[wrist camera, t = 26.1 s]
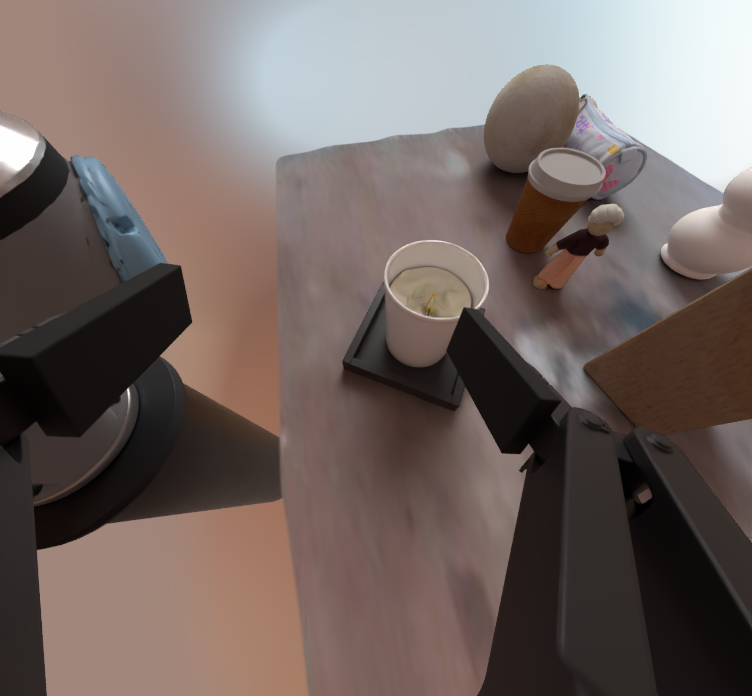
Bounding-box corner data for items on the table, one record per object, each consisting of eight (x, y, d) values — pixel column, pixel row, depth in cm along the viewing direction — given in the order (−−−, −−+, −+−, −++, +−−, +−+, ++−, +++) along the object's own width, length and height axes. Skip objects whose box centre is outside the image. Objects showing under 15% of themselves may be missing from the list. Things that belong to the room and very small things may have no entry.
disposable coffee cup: (497, 256, 44) (538, 182, 33) (495, 218, 48) (530, 142, 38) (557, 264, 43) (618, 191, 33) (549, 225, 48) (600, 149, 37)
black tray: (343, 368, 34) (341, 361, 32) (384, 286, 41) (385, 276, 39) (454, 411, 32) (459, 406, 30) (479, 317, 38) (485, 308, 36)
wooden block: (644, 439, 31) (1017, 373, 13) (579, 366, 35) (796, 241, 17) (701, 403, 33) (1088, 304, 15) (634, 338, 37) (876, 201, 19)
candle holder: (468, 355, 35) (511, 297, 24) (401, 386, 33) (416, 336, 22) (429, 300, 39) (452, 228, 28) (367, 324, 37) (366, 257, 26)
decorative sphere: (465, 148, 59) (493, 49, 46) (531, 147, 60) (577, 49, 46) (483, 190, 52) (522, 88, 39) (557, 188, 53) (621, 87, 40)
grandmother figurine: (533, 295, 40) (596, 221, 29) (522, 276, 42) (577, 198, 31) (579, 288, 41) (658, 213, 30) (566, 270, 43) (636, 192, 32)
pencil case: (537, 145, 60) (564, 89, 52) (575, 144, 61) (608, 89, 52) (575, 204, 50) (616, 148, 42) (619, 203, 51) (668, 147, 42)
